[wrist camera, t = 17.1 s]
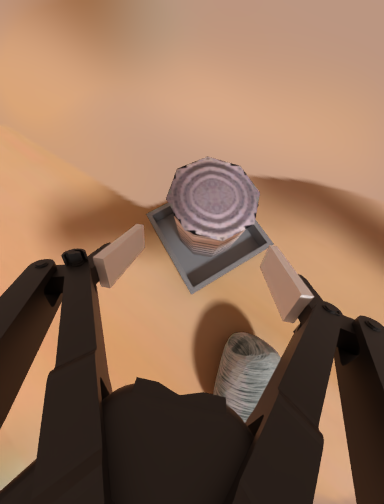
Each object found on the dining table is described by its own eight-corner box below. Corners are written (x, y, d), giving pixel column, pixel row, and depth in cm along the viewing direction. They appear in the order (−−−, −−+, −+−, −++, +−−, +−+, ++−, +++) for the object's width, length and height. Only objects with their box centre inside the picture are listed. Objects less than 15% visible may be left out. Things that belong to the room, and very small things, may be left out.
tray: (264, 249, 29) (273, 244, 26) (191, 293, 27) (191, 294, 24) (218, 186, 33) (221, 174, 29) (151, 222, 31) (146, 214, 27)
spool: (218, 316, 23) (271, 376, 14) (260, 325, 27) (324, 377, 18) (186, 394, 24) (217, 501, 15) (232, 393, 27) (280, 478, 18)
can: (184, 200, 31) (179, 148, 20) (238, 209, 31) (266, 161, 19) (172, 252, 29) (158, 228, 17) (231, 263, 28) (258, 246, 16)
